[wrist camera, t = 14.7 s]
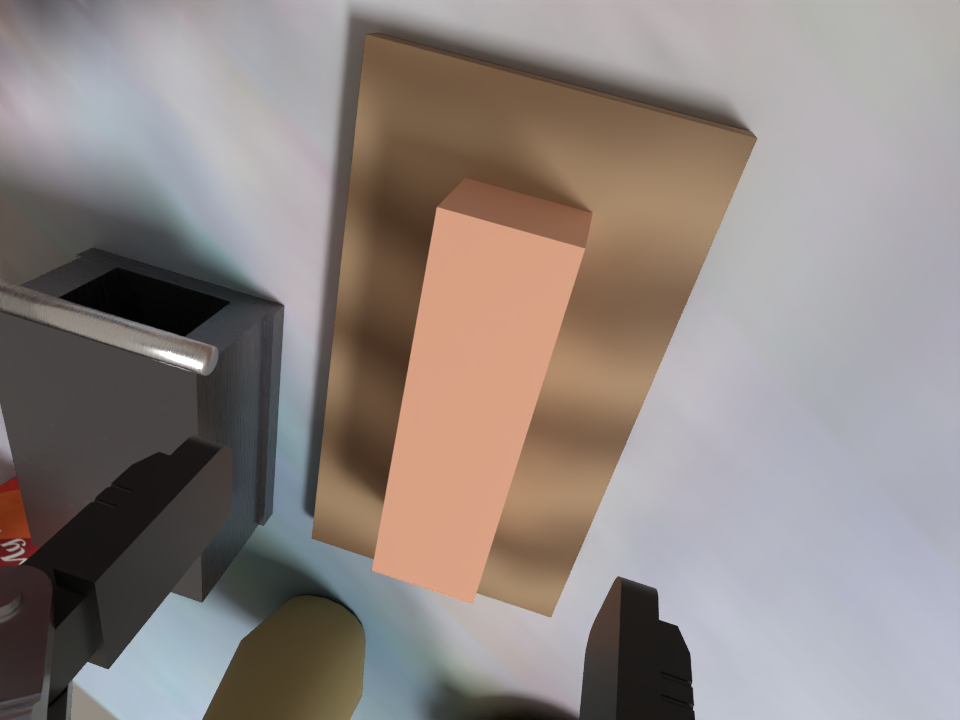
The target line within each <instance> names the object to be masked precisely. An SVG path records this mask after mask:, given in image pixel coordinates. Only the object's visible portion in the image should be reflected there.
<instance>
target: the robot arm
mask: <svg viewBox="0 0 960 720" xmlns="http://www.w3.org/2000/svg"><path fill="white" fill-rule="evenodd" d="M232 456H233V455H232V449H231V448H230V447H229V446H226V445H223V444H220V443H217V442H214V441H211V440H208V439H205V438H201V437H198V436H191V437H189V438H188V439H187V440H186V441H184V442H183V443H182V444H181V445H180V446H179V447H178V448H177V449H176V450H175V451H174V452H173V453H172V454H171V455H167V454H164V453H161V452H157V453H155V454H153V455H151V456H149V457H147V458H145V459H143V460H140V461H138V462H136V463H134V464H132V465H131V466H130V467H129V468H128V469H126V470H125V471H124V472H123V473H122V474H121V475H120V476H119V477H118V478H116V479H115V480H114V481H113V482H112V484H111V486H110V487H107V488H105V489H104V490H103V491H102V492H101V493H100V494H99V495H98V496H97V497H96V498H95V500H94V502H93V503H92V502H90V503H89V504H88V505H87V506H86V507H85V508H83V509H82V510H81V511H80V512H79V513H78V514H77V515H76V516H75V517H74V518H72V519H71V520H70V521H69V522H68V523H67V524H66V525H65V526H64V527H63V528H61V529H60V530H59V531H58V532H57V533H56V534H55V535H54V536H53V537H52V538H50V539H49V540H48V541H47V542H46V543H45V544H44V545H43V546H42V547H41V548H39V549H38V550H37V551H36V552H35V553H34V554H33V555H32V556H31V557H29V558H28V559H27V560H26V561H24V562H23V563H22V564H20V565H8V566H3V567H0V720H71V704H72V689H73V682H72V679H73V678H74V677H75V676H76V675H77V673H78V672H79V671H80V670H81V669H82V667H83V666H84V665H85V664H86V663H87V662H90V663H92V664H95V665H98V666H101V667H103V668H106V669H109V668H110V667H111V665H112V664H113V663H114V662H115V660H116V659H117V658H118V657H119V655H120V654H121V653H122V652H123V650H124V649H125V648H126V647H127V645H128V644H129V643H130V642H131V640H132V639H133V638H134V637H135V635H136V634H137V633H138V632H139V630H140V629H141V628H142V627H143V625H144V624H145V623H146V622H147V620H148V619H149V618H150V617H151V615H152V614H153V613H154V612H155V610H156V609H157V608H158V607H159V605H160V604H161V603H162V602H163V600H164V599H165V598H166V597H167V595H168V594H169V593H170V592H171V590H172V589H173V588H174V587H175V585H176V584H177V583H178V582H179V580H180V579H181V578H182V577H183V575H184V574H185V573H186V572H187V570H188V569H189V568H190V567H191V565H192V564H193V563H194V562H195V560H196V559H197V558H198V557H199V555H200V554H201V553H202V552H203V550H204V549H205V548H206V547H207V545H208V544H209V543H210V542H211V540H212V539H213V538H214V537H215V535H216V534H217V533H218V532H219V530H220V529H221V527H222V526H223V524H224V522H225V521H226V518H227V516H228V514H229V511H230V508H231V503H232ZM691 684H692V671H691V657H690V652H689V650H688V648H687V646H686V643H685V641H684V639H683V637H682V635H681V632H680V630H679V628H678V626H676V625H673V624H670V623H667V622H664V621H661V620H659V607H658V592H657V590H656V589H655V588H652V587H649V586H646V585H643V584H640V583H637V582H634V581H631V580H628V579H625V578H622V577H619V576H618V577H617V578H616V579H615V581H614V583H613V585H612V587H611V589H610V591H609V593H608V595H607V597H606V599H605V601H604V603H603V605H602V607H601V609H600V611H599V613H598V615H597V617H596V619H595V621H594V623H593V626H592V628H591V631H590V634H589V638H588V642H587V647H586V653H585V661H584V673H583V684H582V695H581V706H580V717H579V720H695V714H694V711H693V706H694V700H693V688H692V687H691Z"/></svg>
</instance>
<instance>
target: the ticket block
mask: <svg viewBox="0 0 960 720" xmlns="http://www.w3.org/2000/svg"><path fill="white" fill-rule="evenodd" d="M592 215H593V213H591V212H587V211H584V210H580V209H576V208H573V207H569V206H566V205H562V204H558V203H555V202H551V201H547V200H544V199H540V198H536V197H533V196H529V195H526V194H522V193H518V192H515V191H511V190H507V189H504V188H500V187H497V186H493V185H489V184H486V183H482V182H478V181H475V180H471V179H467V178H465V179H464V180H463V181H462V182H461V183H460V184H459V185H458V186H457V187H456V188H455V189H454V190H453V191H452V192H451V193H450V194H449V195H448V196H447V197H446V198H445V199H444V200H443V201H442V202H441V203H440V204H439V205H438V206H437V209H436V215H435V220H434V226H433V232H432V237H431V243H430V248H429V254H428V260H427V265H426V271H425V276H424V282H423V287H422V293H421V299H420V304H419V310H418V315H417V321H416V327H415V332H414V338H413V343H412V349H411V355H410V360H409V366H408V371H407V377H406V383H405V388H404V394H403V399H402V405H401V411H400V416H399V422H398V427H397V433H396V439H395V444H394V450H393V455H392V461H391V466H390V472H389V478H388V483H387V489H386V494H385V500H384V506H383V511H382V517H381V522H380V528H379V534H378V539H377V545H376V550H375V556H374V562H373V567H372V571H374V572H377V573H380V574H384V575H387V576H390V577H393V578H396V579H399V580H402V581H405V582H408V583H411V584H414V585H417V586H420V587H423V588H426V589H429V590H432V591H435V592H438V593H441V594H444V595H448V596H451V597H454V598H457V599H460V600H463V601H466V602H469V603H472V604H473V602H474V599H475V596H476V593H477V590H478V586H479V583H480V580H481V577H482V574H483V571H484V567H485V564H486V561H487V558H488V555H489V552H490V548H491V545H492V542H493V539H494V536H495V533H496V530H497V526H498V523H499V520H500V517H501V514H502V511H503V507H504V504H505V501H506V498H507V495H508V492H509V488H510V485H511V482H512V479H513V476H514V473H515V469H516V466H517V463H518V460H519V457H520V454H521V450H522V447H523V444H524V441H525V438H526V435H527V431H528V428H529V425H530V422H531V419H532V416H533V412H534V409H535V406H536V403H537V400H538V397H539V394H540V390H541V387H542V384H543V381H544V378H545V375H546V371H547V368H548V365H549V362H550V359H551V356H552V352H553V349H554V346H555V343H556V340H557V337H558V333H559V330H560V327H561V324H562V321H563V318H564V314H565V311H566V308H567V305H568V302H569V299H570V295H571V292H572V289H573V286H574V283H575V280H576V276H577V273H578V270H579V267H580V264H581V261H582V258H583V254H584V251H585V248H586V243H587V238H588V234H589V229H590V224H591V220H592Z"/></svg>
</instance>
